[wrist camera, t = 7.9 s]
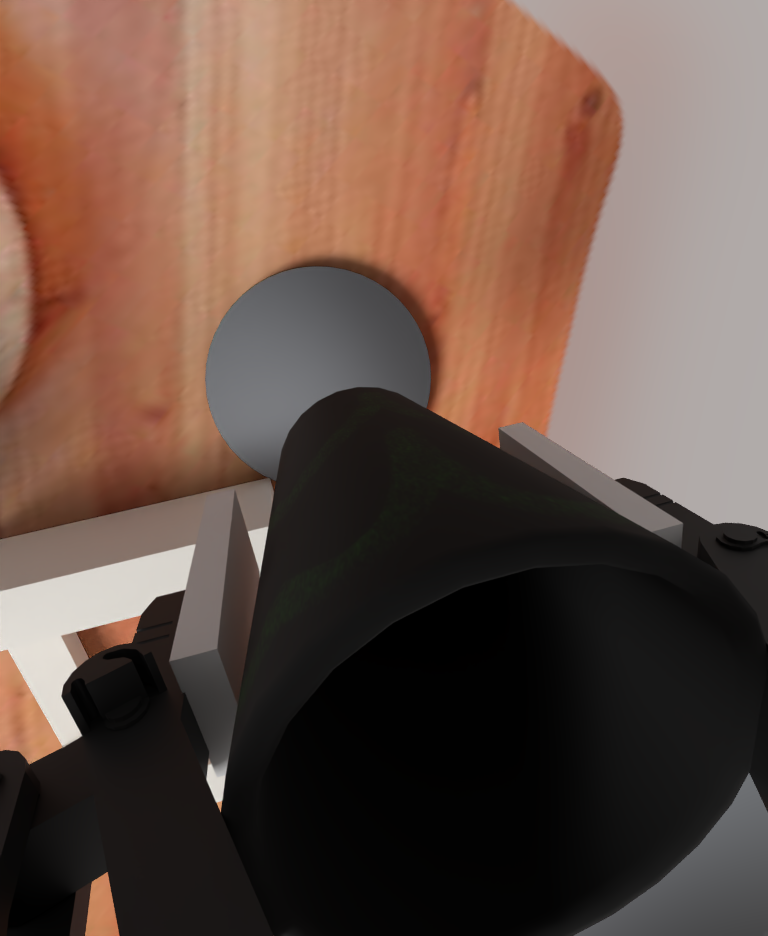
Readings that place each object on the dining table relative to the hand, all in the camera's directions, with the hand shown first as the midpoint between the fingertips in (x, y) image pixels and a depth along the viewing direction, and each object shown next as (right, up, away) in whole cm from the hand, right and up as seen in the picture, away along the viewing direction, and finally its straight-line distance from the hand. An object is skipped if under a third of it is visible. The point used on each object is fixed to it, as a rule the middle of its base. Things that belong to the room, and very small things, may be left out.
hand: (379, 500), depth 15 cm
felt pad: (-3, +6, +14) cm, 15 cm away
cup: (-1, +1, +3) cm, 3 cm away
